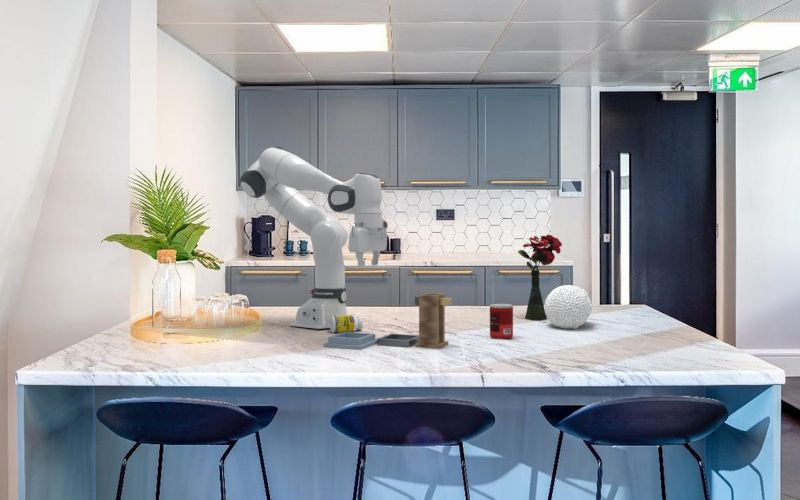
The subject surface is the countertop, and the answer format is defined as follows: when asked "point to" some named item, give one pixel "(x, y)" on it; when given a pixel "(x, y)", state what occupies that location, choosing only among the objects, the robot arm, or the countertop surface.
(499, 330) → the canned food
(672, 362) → the countertop surface
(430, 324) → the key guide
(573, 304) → the white textured ball
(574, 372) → the countertop surface
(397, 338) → the socket
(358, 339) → the tray
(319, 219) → the robot arm
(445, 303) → the bar
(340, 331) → the pill bottle
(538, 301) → the carnation
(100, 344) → the countertop surface
